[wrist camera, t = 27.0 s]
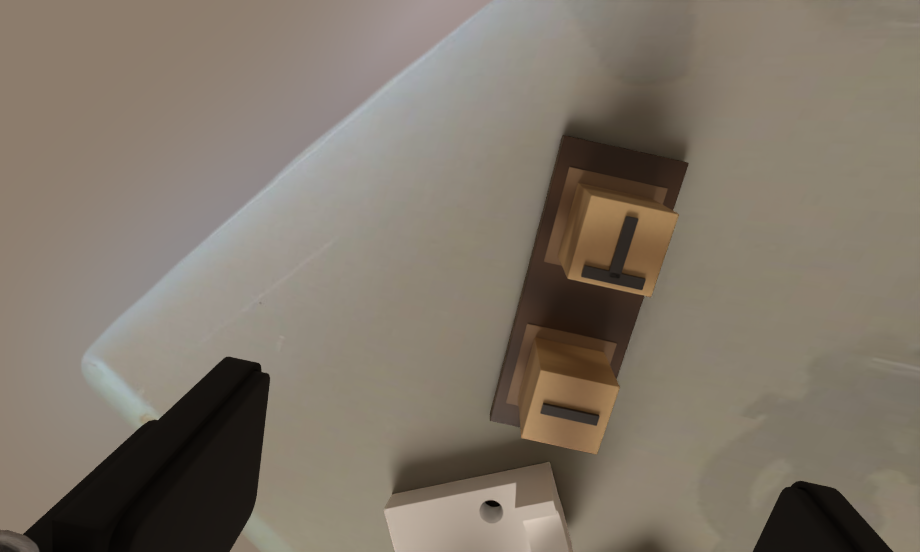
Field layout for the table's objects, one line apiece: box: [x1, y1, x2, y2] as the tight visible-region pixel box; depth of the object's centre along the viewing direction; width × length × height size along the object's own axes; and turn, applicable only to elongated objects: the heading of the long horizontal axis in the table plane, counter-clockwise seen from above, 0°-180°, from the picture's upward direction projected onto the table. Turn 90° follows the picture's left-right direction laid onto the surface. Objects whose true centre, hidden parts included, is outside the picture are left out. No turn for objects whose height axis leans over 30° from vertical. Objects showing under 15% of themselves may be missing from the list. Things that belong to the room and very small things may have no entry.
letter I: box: [518, 337, 620, 454], centre depth 36 cm, size 5×5×5 cm
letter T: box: [558, 183, 679, 297], centre depth 33 cm, size 5×5×5 cm
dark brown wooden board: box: [490, 135, 689, 427], centre depth 38 cm, size 21×8×1 cm, turn 168°
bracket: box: [384, 462, 573, 552], centre depth 41 cm, size 13×7×8 cm, turn 106°
